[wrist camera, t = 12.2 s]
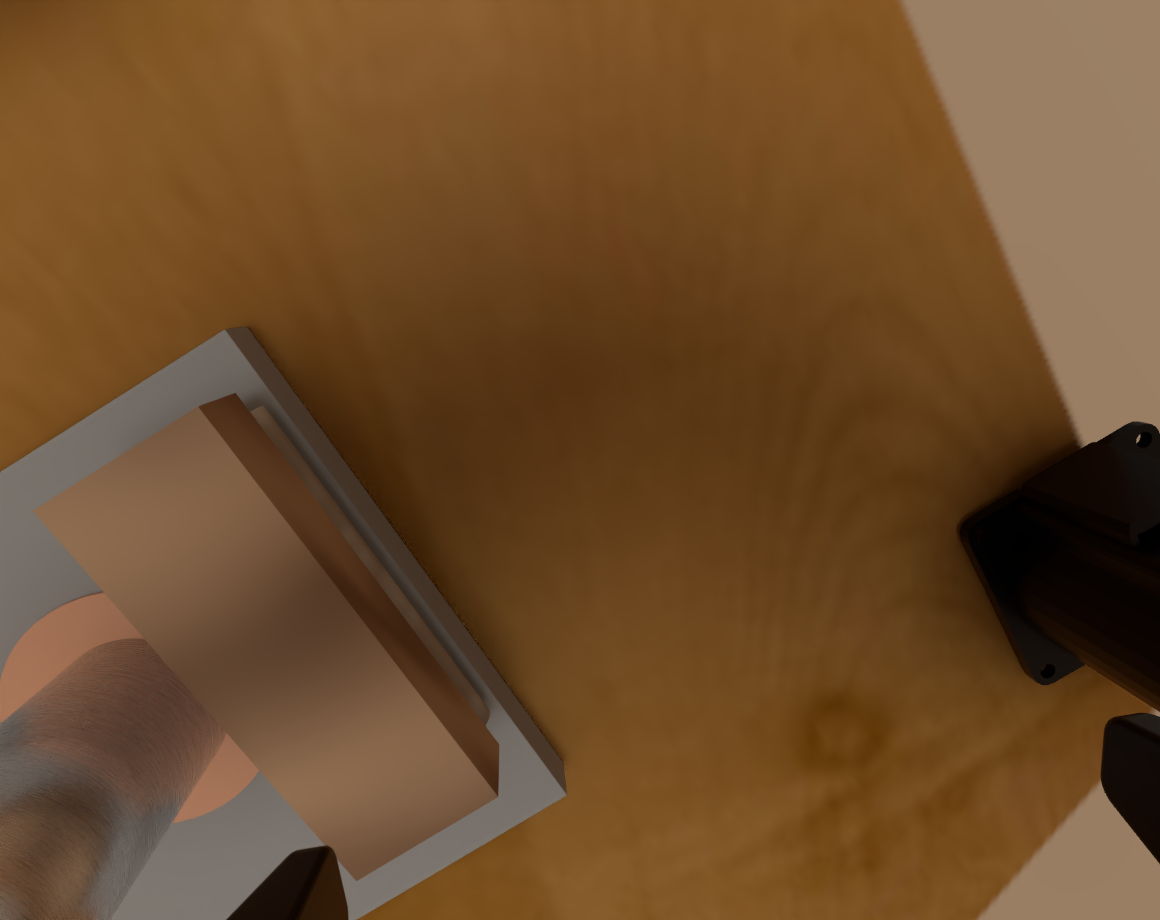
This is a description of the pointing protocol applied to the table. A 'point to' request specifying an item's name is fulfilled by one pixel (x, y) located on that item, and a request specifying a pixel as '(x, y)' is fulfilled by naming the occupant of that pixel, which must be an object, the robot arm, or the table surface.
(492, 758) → the wooden toy car
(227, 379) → the slate board
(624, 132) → the table surface
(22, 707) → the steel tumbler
